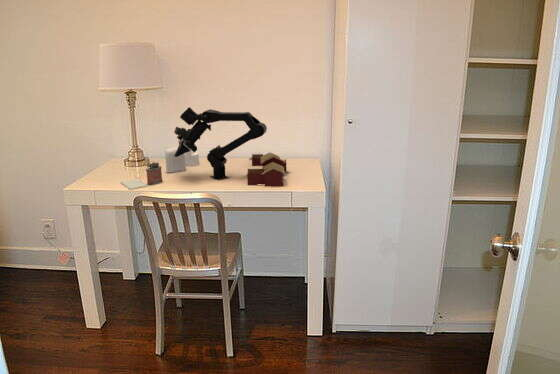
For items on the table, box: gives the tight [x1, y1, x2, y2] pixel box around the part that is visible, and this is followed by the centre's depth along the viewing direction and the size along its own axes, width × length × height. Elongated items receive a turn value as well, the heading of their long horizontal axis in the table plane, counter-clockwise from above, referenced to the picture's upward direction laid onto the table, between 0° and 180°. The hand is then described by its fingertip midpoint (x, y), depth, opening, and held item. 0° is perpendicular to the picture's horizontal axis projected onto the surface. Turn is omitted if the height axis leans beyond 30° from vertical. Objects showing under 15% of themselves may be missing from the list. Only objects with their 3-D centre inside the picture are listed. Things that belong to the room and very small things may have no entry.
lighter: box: [145, 161, 164, 186], centre depth 222 cm, size 8×3×10 cm, turn 141°
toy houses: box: [243, 152, 287, 187], centre depth 237 cm, size 45×20×10 cm, turn 2°
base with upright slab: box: [185, 149, 200, 168], centre depth 254 cm, size 9×9×12 cm
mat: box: [119, 178, 149, 191], centre depth 221 cm, size 14×8×1 cm, turn 36°
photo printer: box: [164, 146, 187, 174], centre depth 242 cm, size 10×4×12 cm, turn 123°
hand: (175, 156), depth 224 cm, fingers closed
